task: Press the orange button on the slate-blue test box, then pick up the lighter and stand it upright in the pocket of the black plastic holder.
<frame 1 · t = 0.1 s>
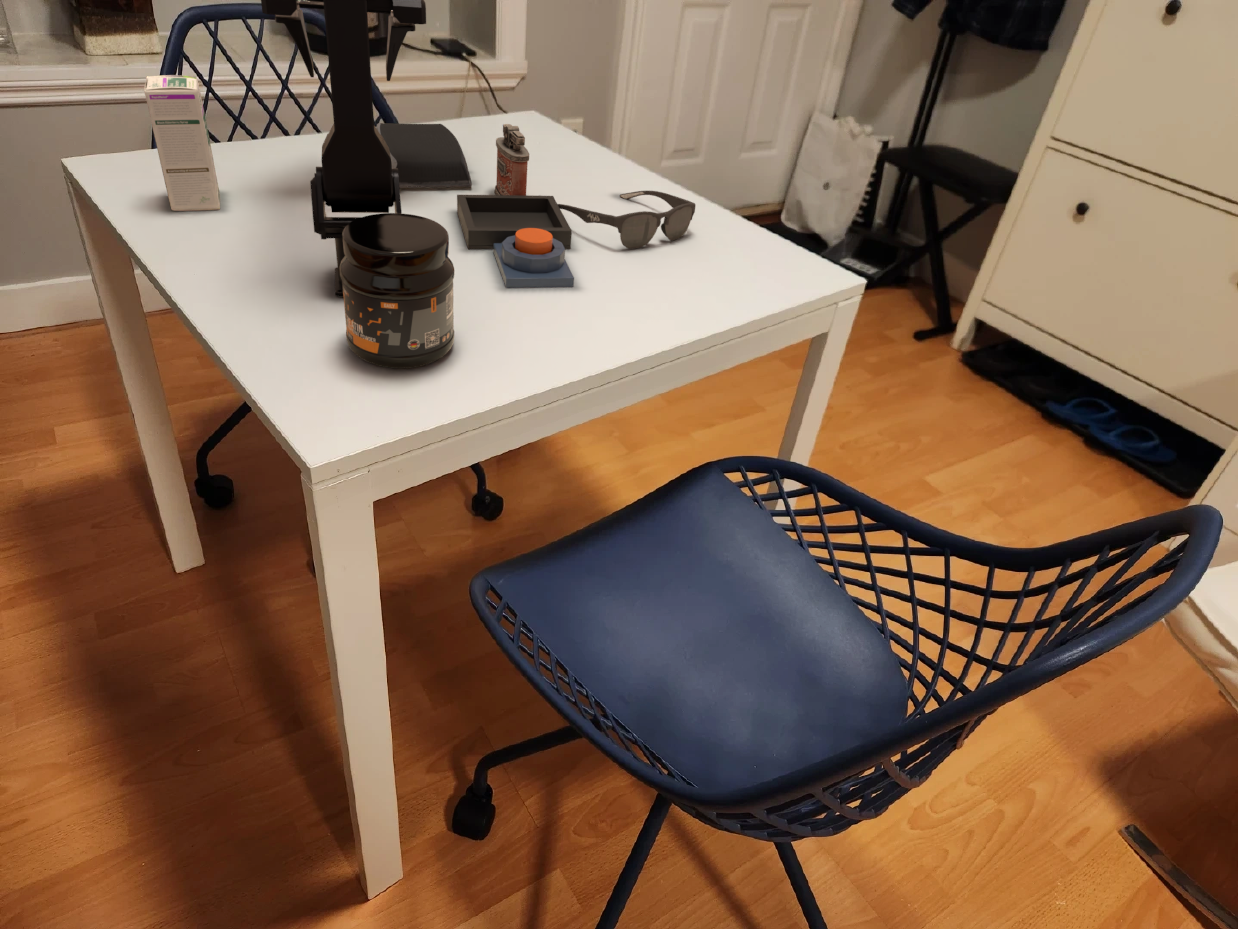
hand: (350, 78, 109), 15 cm above the table, tool pointing down, fingers open, 9 cm apart
holder: (512, 230, 113), on the table
lighter: (510, 201, 121), on the table
test box: (532, 269, 104), on the table
test button: (533, 242, 102), point 3 cm above the table, slide at 0.1 cm
hard drive: (419, 168, 128), on the table
supplement container: (401, 347, 87), on the table
sunglasses: (620, 225, 119), on the table, touching holder
syrup box: (195, 203, 109), on the table
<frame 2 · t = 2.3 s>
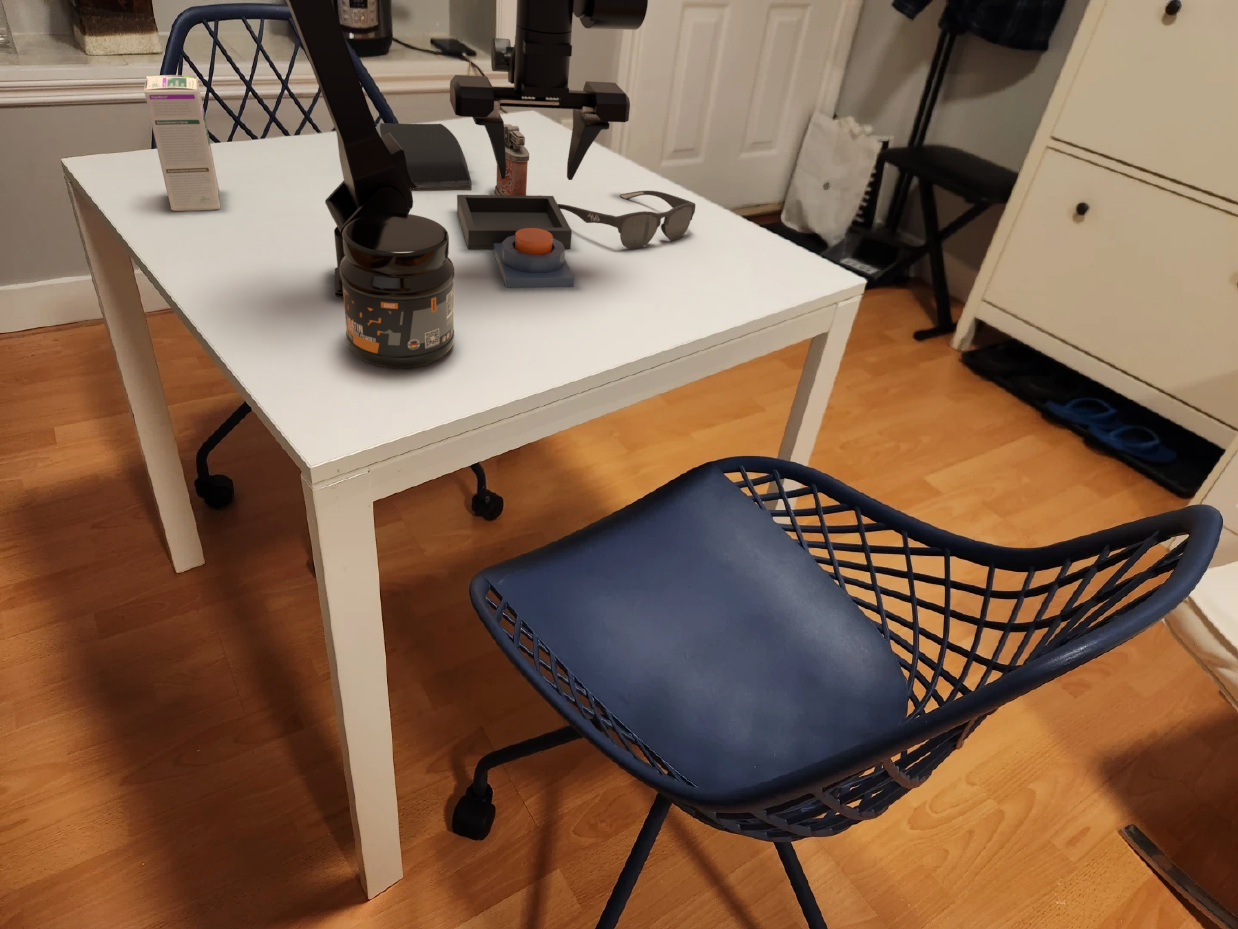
hand: (536, 178, 98), 11 cm above the table, tool pointing down, fingers open, 7 cm apart
nothing on the table moved.
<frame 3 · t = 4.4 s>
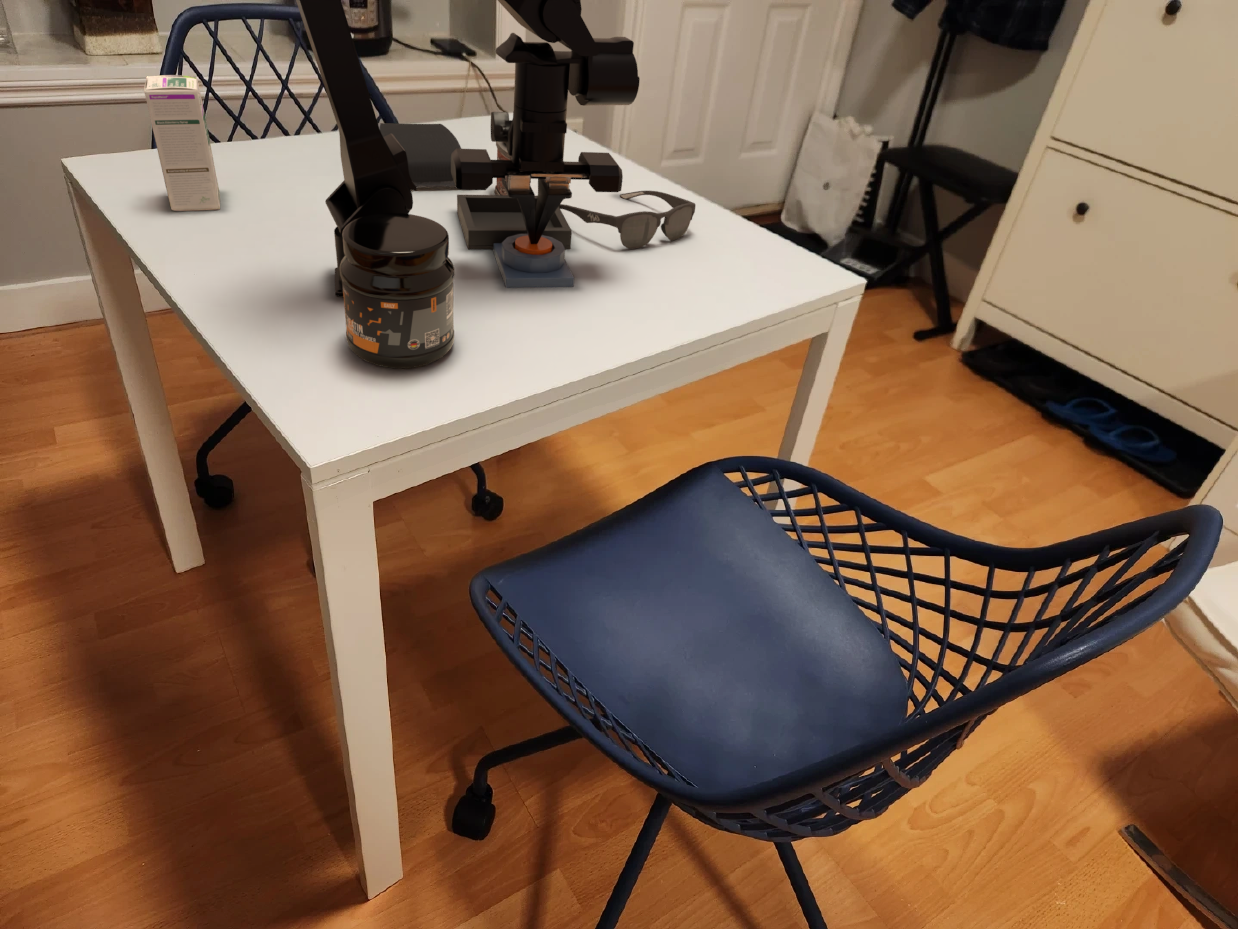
hand: (533, 242, 102), 3 cm above the table, tool pointing down, fingers closed, pressing on test button
test button: (533, 249, 103), point 3 cm above the table, slide at -0.9 cm, touching gripper
everything else where it was.
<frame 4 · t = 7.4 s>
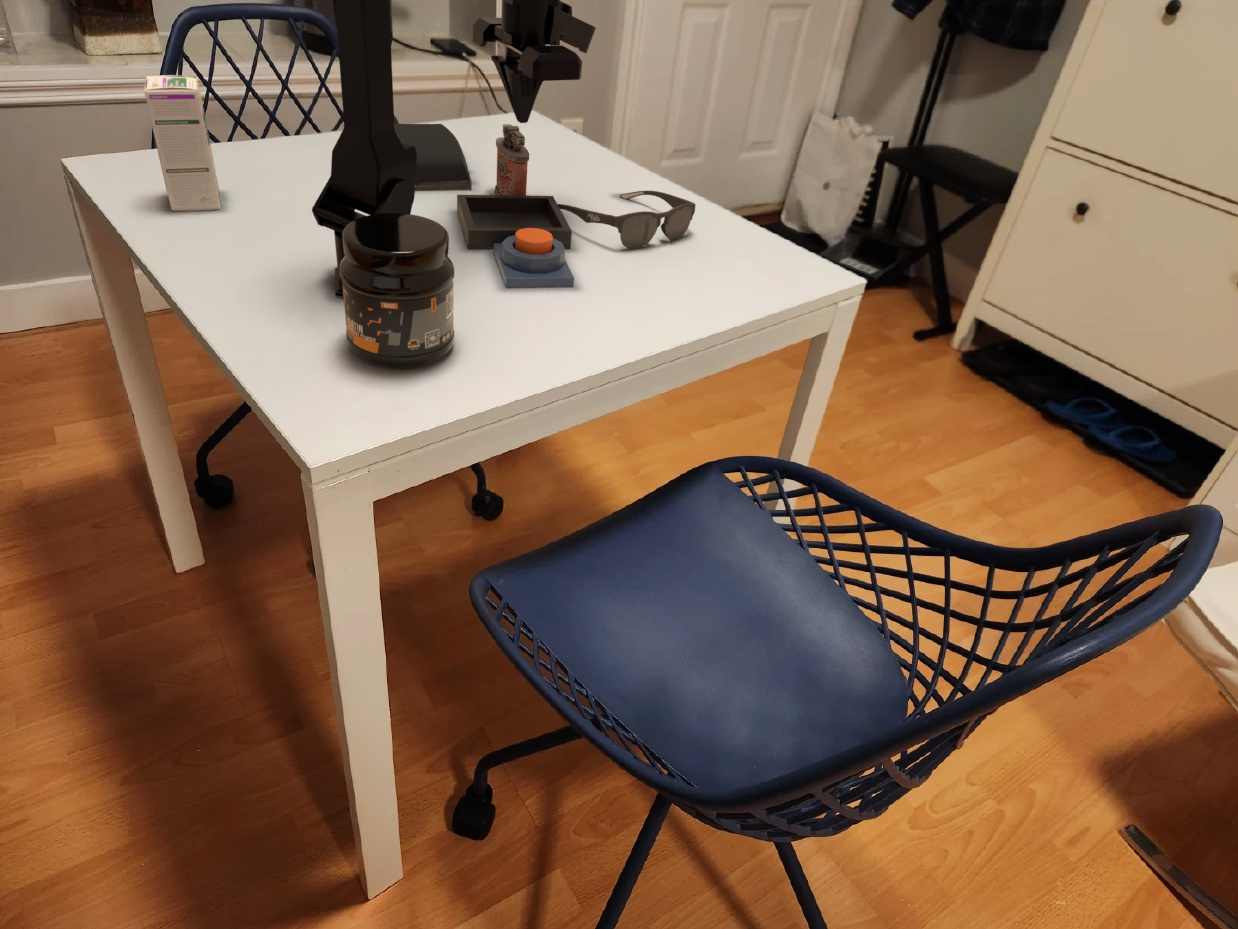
hand: (522, 121, 108), 13 cm above the table, tool pointing down, fingers closed
test button: (533, 242, 102), point 3 cm above the table, slide at 0.1 cm
everything else where it was.
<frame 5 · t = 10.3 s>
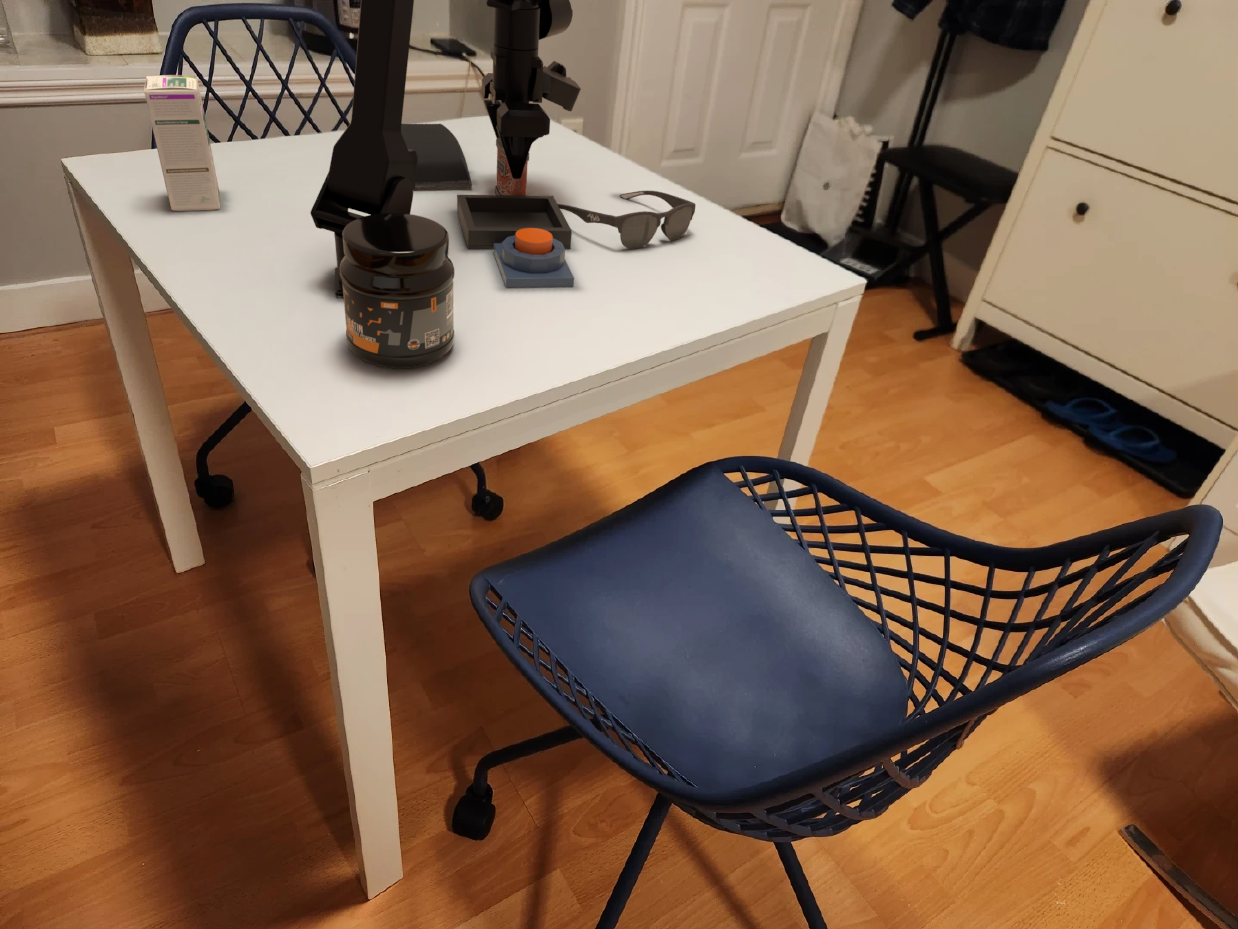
hand: (511, 168, 119), 5 cm above the table, tool pointing down, fingers closed on lighter, 8 cm apart
lighter: (510, 201, 121), on the table, touching gripper
everything else where it was.
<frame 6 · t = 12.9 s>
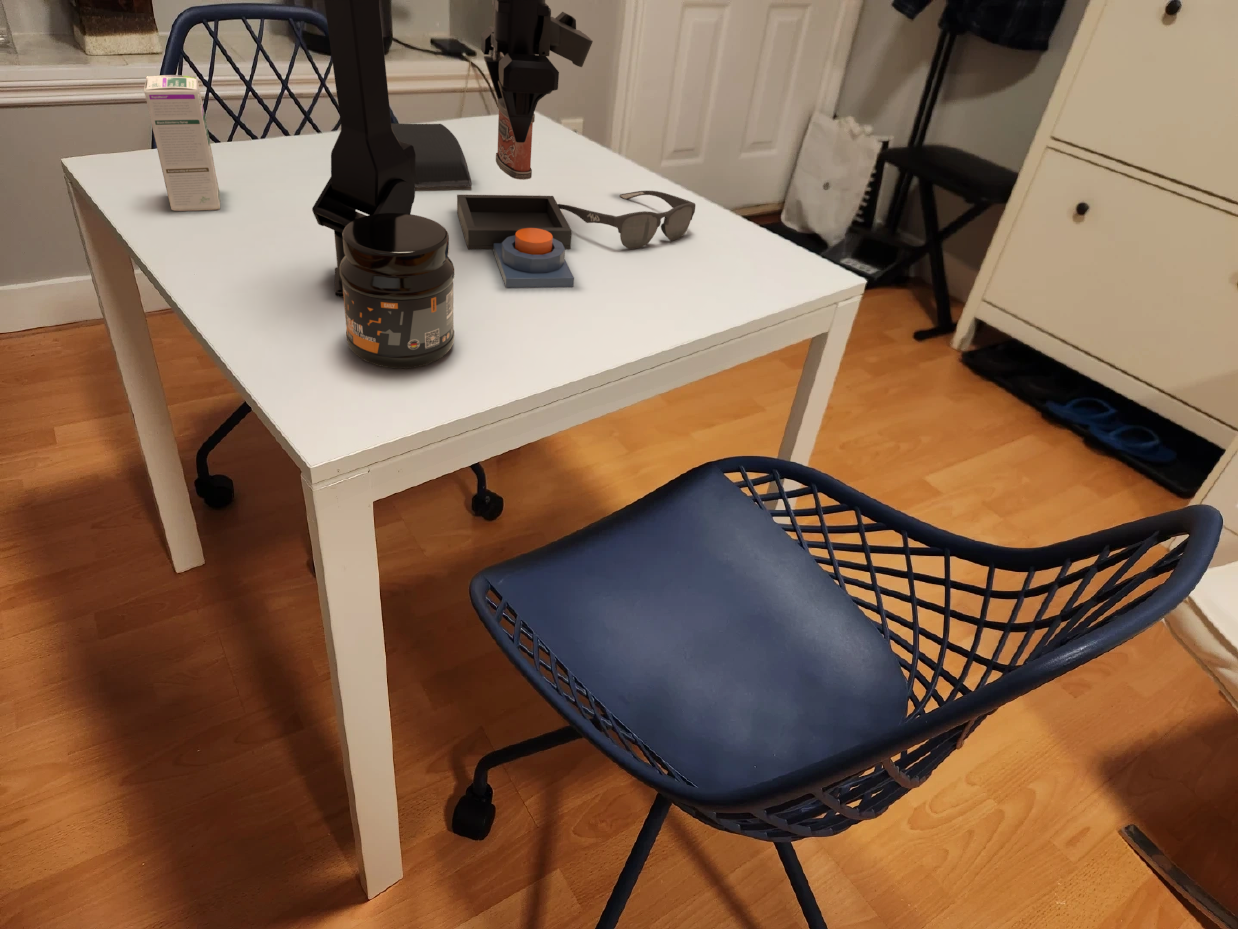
hand: (514, 131, 106), 12 cm above the table, tool pointing down, fingers closed on lighter, 8 cm apart
lighter: (513, 170, 109), point 8 cm above the table, touching gripper
everything else where it was.
when the fingers open (5 cm above the table, at t = 15.6 s): lighter stays where it is, resting on holder.
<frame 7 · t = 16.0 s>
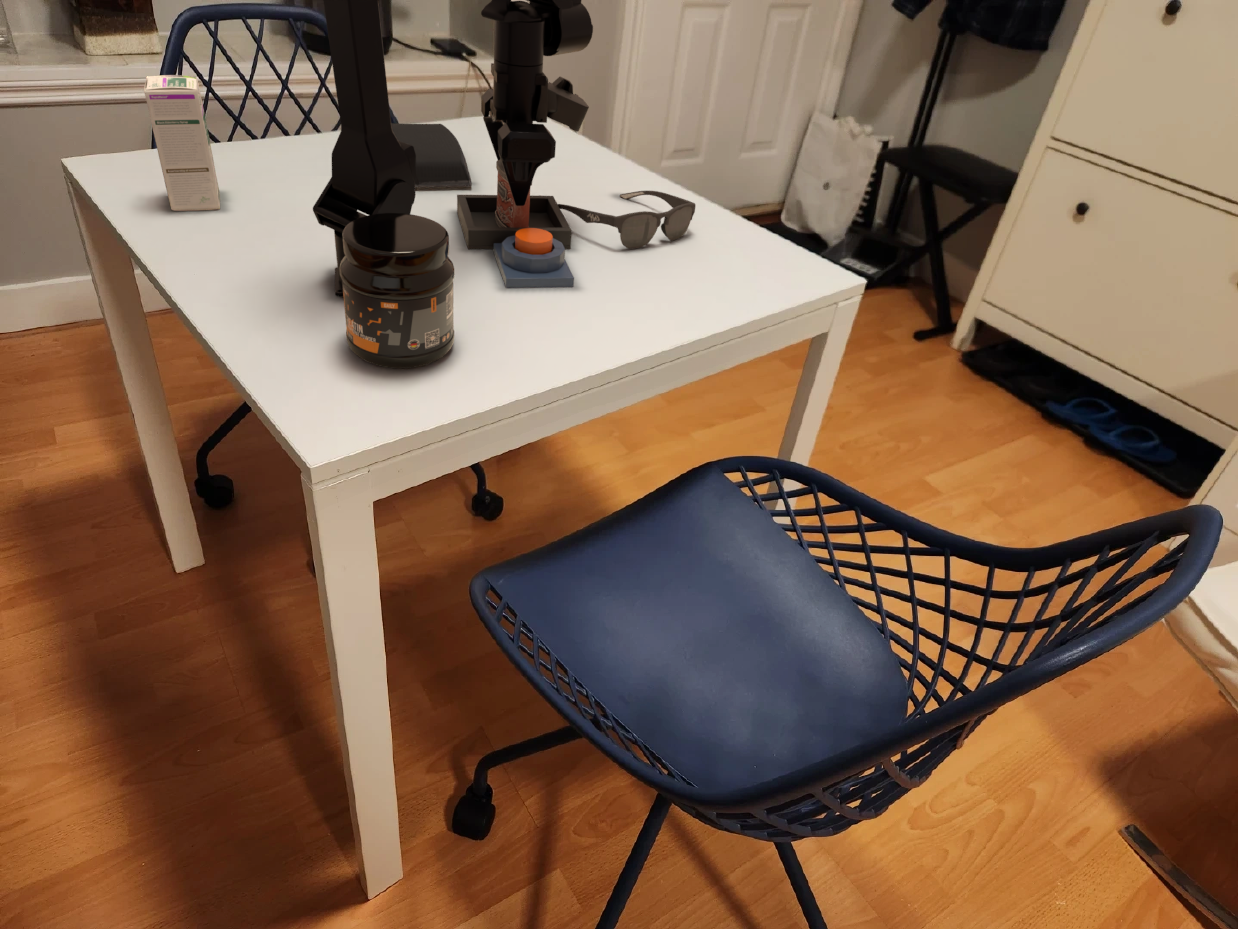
hand: (513, 191, 110), 5 cm above the table, tool pointing down, fingers open, 9 cm apart
lighter: (511, 228, 113), resting on holder
everything else where it was.
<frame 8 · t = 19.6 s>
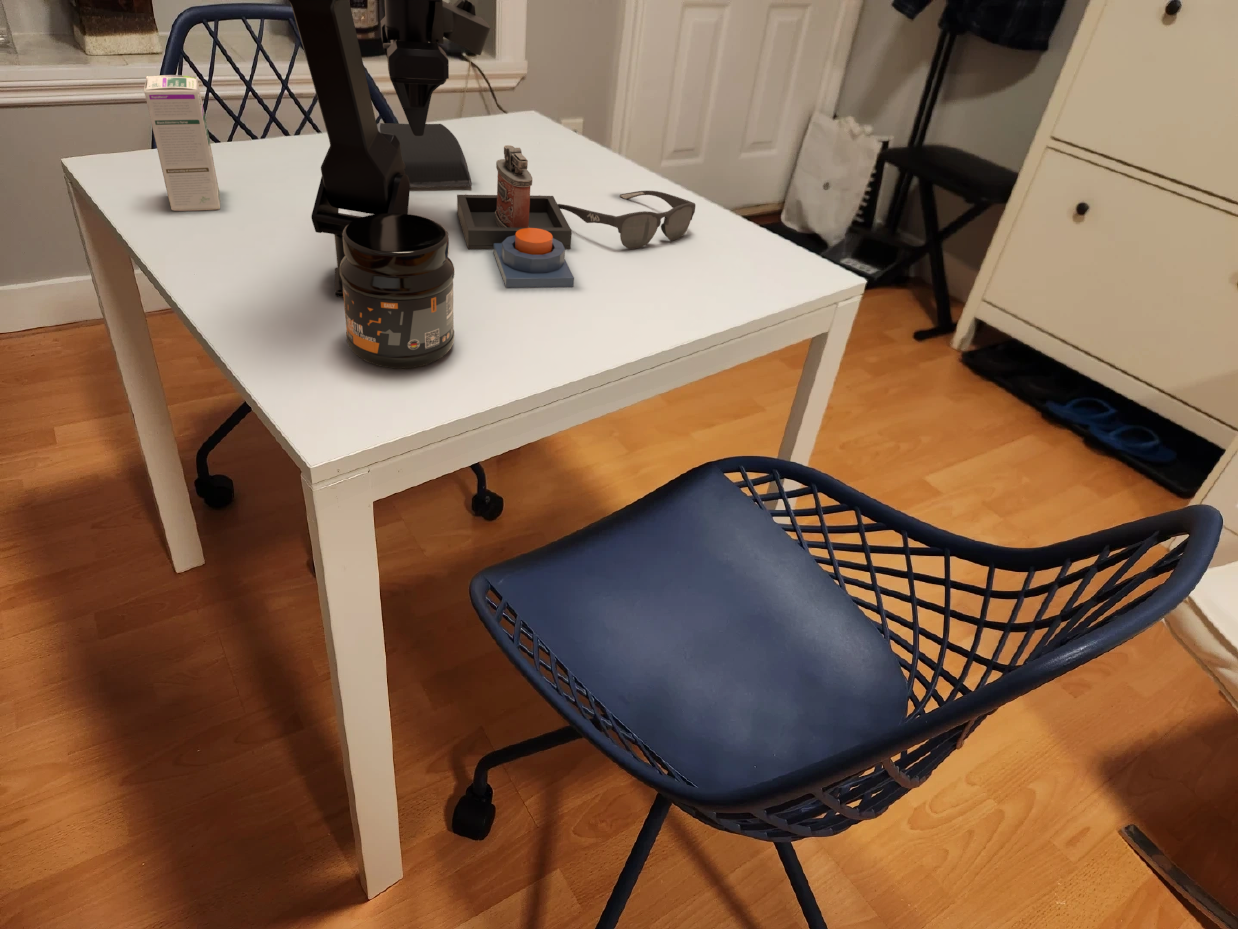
hand: (415, 123, 102), 13 cm above the table, tool pointing down, fingers open, 9 cm apart
nothing on the table moved.
at the end: lighter 0.1 cm off-centre on the holder, point 0.3 cm above the holder's base; lighter tilted 0°; test button pushed in 1.1 cm at the most during the clip, back to where it started at the end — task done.
